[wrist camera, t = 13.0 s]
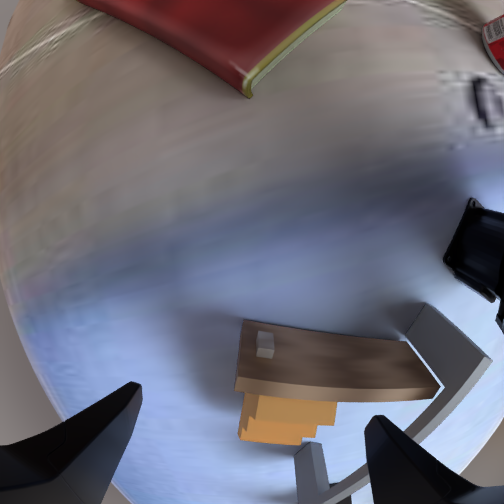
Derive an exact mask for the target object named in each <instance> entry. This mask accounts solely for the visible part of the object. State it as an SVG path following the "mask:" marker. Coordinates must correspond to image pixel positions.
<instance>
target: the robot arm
mask: <svg viewBox="0 0 504 504" xmlns="http://www.w3.org/2000/svg"><path fill="white" fill-rule="evenodd" d="M472 202H474V205H473V206H472ZM448 257H449V260H448V261H447V258H448ZM443 262H444V263H445V264H446V265H447V266H449V267H450V268H451V269H452V270H454V271H455V274H454V276H455V278H456V279H458V280H459V281H460V282H461V283H463V284H464V285H465V286H467V287H468V288H469V289H471V290H473V291H474V292H476V293H477V294H479V295H480V296H482V297H483V298H485V299H486V300H487V301H489V302H490V303H493V302H495V300H496V298H497V299H498V300H500V305H499V310H498V313H497V315H496V320H495V321H496V322H497V324H498V325H499V327H500V329H501V330H502V332H503V334H504V213H501V212H497V211H493V210H489V209H485V208H484V207H483V206H482V205H481V204H480V203H479V202H478V201H477V200H476V199H475V198H470V200H469V202H468V204H467V207H466V209H465V212H464V214H463V216H462V219H461V221H460V223H459V226H458V228H457V230H456V232H455V234H454V236H453V239H452V241H451V243H450V245H449V247H448V249H447V251H446V253H445V255H444V257H443ZM142 400H143V397H142V386H141V384H139V383H136V382H132V381H131V382H129V383H127V384H125V385H124V386H122V387H121V388H119V389H117V390H116V391H114V392H113V393H111V394H109V395H108V396H106V397H104V398H103V399H101V400H99V401H98V402H96V403H94V404H93V405H91V406H89V407H88V408H86V409H84V410H83V411H81V412H79V413H78V414H76V415H74V416H72V417H71V418H69V419H67V420H66V421H65V422H62V423H60V424H58V425H57V426H55V427H53V428H51V429H49V430H47V431H45V432H42V433H40V434H38V435H35V436H33V437H30V438H27V439H25V440H22V441H19V442H16V443H13V444H10V445H2V446H0V504H101V502H102V500H103V498H104V495H105V493H106V491H107V489H108V486H109V484H110V482H111V480H112V477H113V475H114V473H115V471H116V469H117V466H118V464H119V462H120V460H121V458H122V455H123V453H124V451H125V449H126V447H127V445H128V443H129V440H130V438H131V436H132V433H133V430H134V427H135V423H136V420H137V417H138V414H139V411H140V408H141V405H142ZM364 435H365V446H366V459H367V466H368V472H369V477H370V483H371V488H372V494H373V500H374V504H504V486H493V487H480V486H477V485H474V484H472V483H471V482H469V481H468V480H466V479H464V478H463V477H461V476H459V475H458V474H456V473H455V472H453V471H452V470H450V469H449V468H448V467H446V466H445V465H444V464H442V463H441V462H440V461H438V460H437V459H436V458H435V457H433V456H432V455H431V454H430V453H428V452H427V451H426V450H425V449H424V448H422V447H421V446H420V445H419V444H417V443H416V442H415V441H414V440H413V439H411V438H410V437H409V436H408V435H407V434H405V433H404V432H403V431H402V430H401V429H399V428H398V427H397V426H396V425H395V424H393V423H392V422H391V421H390V420H389V419H388V418H386V417H385V416H384V415H375V416H373V417H372V419H371V420H370V422H369V423H368V424H367V426H366V427H365V430H364Z"/></svg>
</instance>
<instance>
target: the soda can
mask: <svg viewBox="0 0 504 504" xmlns="http://www.w3.org/2000/svg"><path fill="white" fill-rule="evenodd" d="M482 40H483V44H484V46H485V49H486V51H487V53H488V55H489V57H490V58H491V60H492V62H493V63H494V64H495V66H496V67H497V68H498V69H499V70H500V71H501V72H502V73H503V74H504V14H503V15H501V16H499V17H497V18H495V19H494V20H492V21H490V22H488V23H486V24H485V25H484V26H483V28H482Z"/></svg>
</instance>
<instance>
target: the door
mask: <svg viewBox="0 0 504 504" xmlns="http://www.w3.org/2000/svg"><path fill="white" fill-rule="evenodd" d="M440 387H441V386H440V385H439V384H438V382H437V381H436V380H435V378H434V377H433V376H432V374H431V373H430V372H429V370H428V369H427V368H426V366H425V365H424V364H423V362H422V361H421V360H420V358H419V357H418V356H417V354H416V353H415V352H414V351H413V349H412V348H411V347H410V345H409V344H408V343H407V342H406V341H396V340H384V339H374V338H364V337H355V336H346V335H338V334H330V333H323V332H316V331H309V330H302V329H295V328H289V327H283V326H277V325H271V324H265V323H259V322H254V321H248V320H243V325H242V329H241V335H240V343H239V352H238V361H237V370H236V378H235V387H234V391H237V392H243V393H250V394H256V395H264V396H271V397H280V398H289V399H300V400H313V401H330V402H395V401H411V400H423V399H433V397H434V396H435V394H436V393H437V391H438V390H439V388H440Z"/></svg>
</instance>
